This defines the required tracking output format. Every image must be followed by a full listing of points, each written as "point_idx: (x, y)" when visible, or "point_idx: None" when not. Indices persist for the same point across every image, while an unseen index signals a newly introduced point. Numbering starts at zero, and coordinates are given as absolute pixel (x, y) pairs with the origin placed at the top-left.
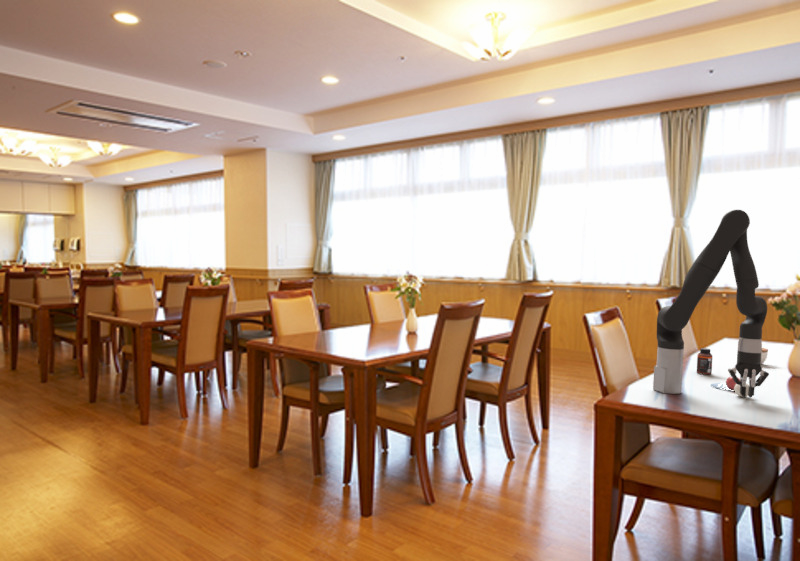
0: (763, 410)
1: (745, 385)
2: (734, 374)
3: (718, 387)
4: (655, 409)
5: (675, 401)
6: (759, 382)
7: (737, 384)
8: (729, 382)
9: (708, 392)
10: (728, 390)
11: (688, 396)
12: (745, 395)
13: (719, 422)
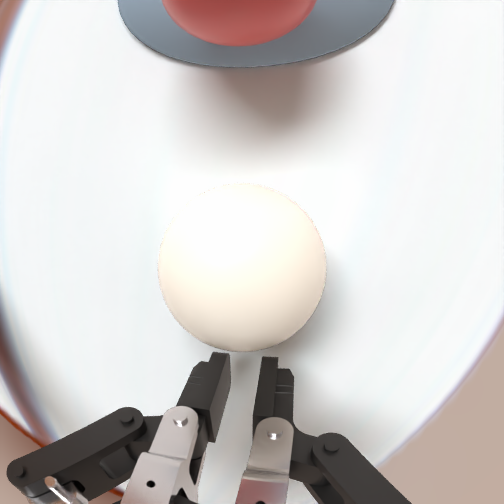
0: None
1: (245, 350)
2: (83, 496)
3: (146, 3)
4: (25, 432)
5: (16, 385)
6: (324, 494)
7: (167, 303)
8: (174, 17)
9: (54, 196)
10: (191, 62)
11: (12, 322)
12: (228, 391)
13: None
